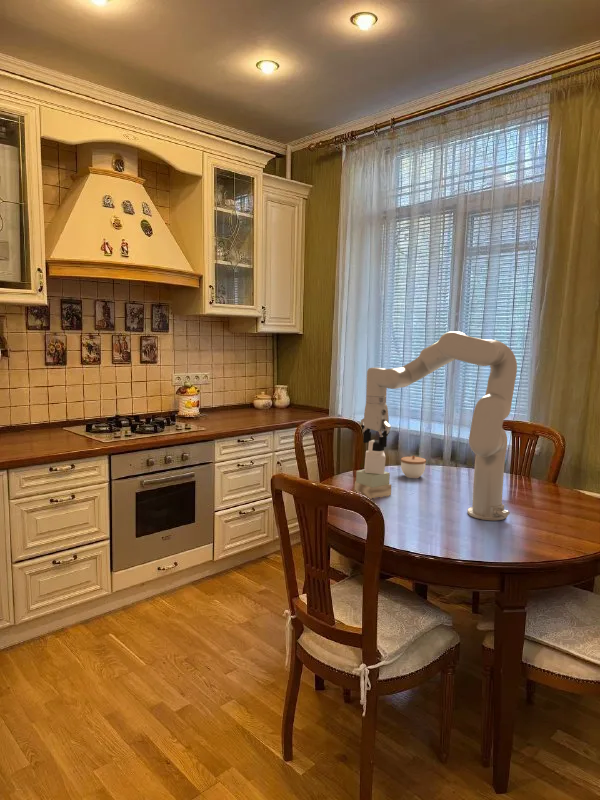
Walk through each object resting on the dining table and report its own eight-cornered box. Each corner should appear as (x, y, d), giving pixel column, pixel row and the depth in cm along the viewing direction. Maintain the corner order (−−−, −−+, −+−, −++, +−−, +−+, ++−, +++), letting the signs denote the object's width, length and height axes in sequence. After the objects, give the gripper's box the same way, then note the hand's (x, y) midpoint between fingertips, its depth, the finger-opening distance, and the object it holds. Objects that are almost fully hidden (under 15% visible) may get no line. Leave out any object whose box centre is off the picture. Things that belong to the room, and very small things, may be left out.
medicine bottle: (382, 469, 216) (385, 439, 215) (384, 474, 209) (387, 443, 208) (364, 468, 217) (366, 438, 215) (365, 473, 210) (367, 442, 208)
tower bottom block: (391, 496, 213) (391, 484, 212) (370, 499, 208) (370, 488, 207) (375, 489, 221) (375, 478, 221) (354, 492, 216) (354, 481, 216)
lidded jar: (409, 472, 250) (409, 451, 249) (429, 476, 242) (431, 455, 241) (395, 476, 242) (396, 455, 241) (416, 481, 235) (417, 459, 234)
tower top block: (389, 484, 213) (389, 472, 212) (371, 487, 208) (372, 475, 207) (373, 479, 220) (373, 468, 220) (356, 482, 215) (356, 470, 215)
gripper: (398, 402, 204) (396, 448, 206) (370, 397, 219) (369, 440, 221) (382, 403, 201) (380, 449, 203) (354, 398, 216) (353, 441, 218)
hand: (374, 444), depth 212 cm, fingers open, 9 cm apart
